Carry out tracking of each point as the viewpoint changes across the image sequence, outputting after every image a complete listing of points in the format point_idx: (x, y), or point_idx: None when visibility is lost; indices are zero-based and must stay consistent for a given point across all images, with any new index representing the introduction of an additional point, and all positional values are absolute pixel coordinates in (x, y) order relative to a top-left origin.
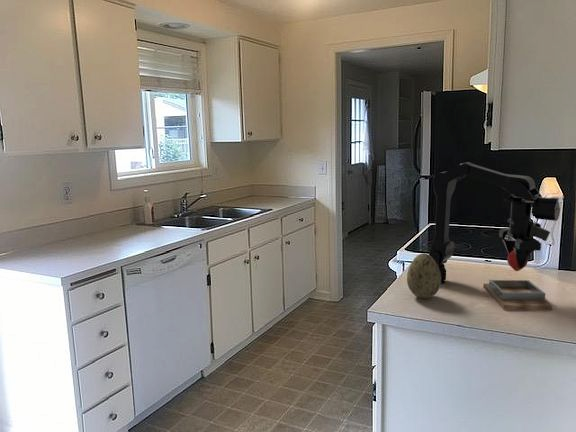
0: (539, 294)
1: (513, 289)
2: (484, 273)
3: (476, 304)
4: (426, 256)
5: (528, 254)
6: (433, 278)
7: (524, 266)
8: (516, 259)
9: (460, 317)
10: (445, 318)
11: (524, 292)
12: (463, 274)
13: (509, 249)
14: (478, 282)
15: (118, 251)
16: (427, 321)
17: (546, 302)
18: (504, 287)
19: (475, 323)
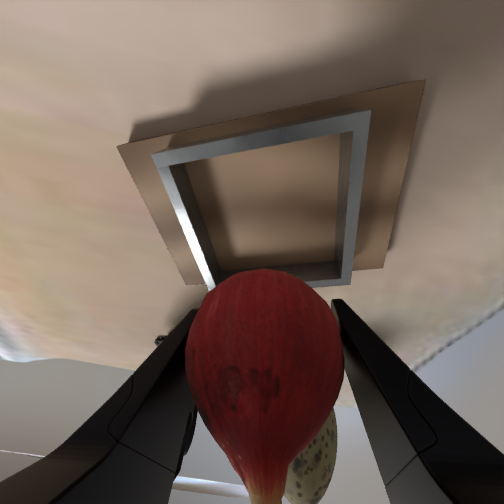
0: (364, 143)
1: (218, 213)
2: (43, 253)
3: (329, 305)
4: (316, 502)
5: (487, 445)
6: (334, 426)
7: (306, 284)
8: (353, 390)
9: (408, 337)
10: (407, 354)
11: (348, 214)
12: (95, 300)
13: (178, 435)
14: (147, 279)
15: (204, 483)
16: (415, 372)
17: (375, 103)
18: (210, 240)
19: (452, 321)
